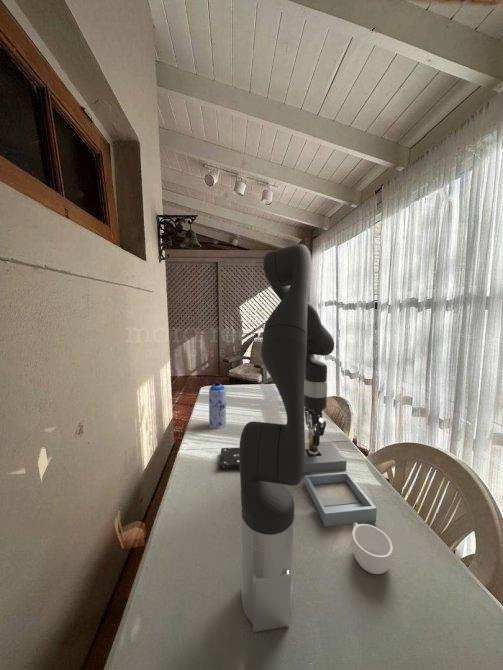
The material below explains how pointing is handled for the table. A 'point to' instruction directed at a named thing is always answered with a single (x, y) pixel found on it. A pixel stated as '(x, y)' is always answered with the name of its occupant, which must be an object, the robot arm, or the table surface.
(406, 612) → the table surface
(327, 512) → the parts tray
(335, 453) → the board
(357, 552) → the teacup
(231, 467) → the disk drive
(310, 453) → the fuse
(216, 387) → the aerosol can
